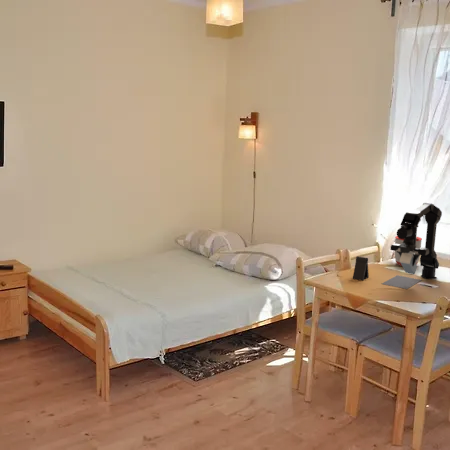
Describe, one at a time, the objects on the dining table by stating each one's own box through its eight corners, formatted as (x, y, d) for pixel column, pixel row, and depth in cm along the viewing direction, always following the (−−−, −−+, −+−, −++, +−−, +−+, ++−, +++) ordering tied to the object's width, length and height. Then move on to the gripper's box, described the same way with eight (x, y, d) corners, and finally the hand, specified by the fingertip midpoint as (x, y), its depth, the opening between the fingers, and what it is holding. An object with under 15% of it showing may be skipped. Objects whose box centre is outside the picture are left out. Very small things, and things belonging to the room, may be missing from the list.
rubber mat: (397, 275, 312) (397, 275, 311) (421, 280, 303) (421, 279, 303) (381, 284, 295) (381, 283, 295) (407, 289, 286) (407, 288, 286)
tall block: (408, 264, 296) (402, 252, 286) (417, 266, 293) (411, 254, 283) (405, 272, 294) (399, 260, 284) (414, 274, 291) (408, 262, 281)
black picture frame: (362, 280, 301) (364, 259, 299) (352, 278, 304) (353, 258, 302) (368, 277, 308) (370, 256, 306) (358, 275, 312) (359, 254, 309)
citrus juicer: (394, 267, 329) (397, 235, 325) (391, 260, 346) (394, 229, 342) (422, 269, 326) (424, 236, 322) (417, 262, 343) (420, 231, 339)
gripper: (387, 236, 285) (385, 265, 288) (423, 241, 274) (420, 271, 277) (395, 232, 294) (393, 261, 297) (430, 237, 282) (428, 267, 285)
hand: (408, 265), depth 289 cm, fingers closed on tall block, 5 cm apart
